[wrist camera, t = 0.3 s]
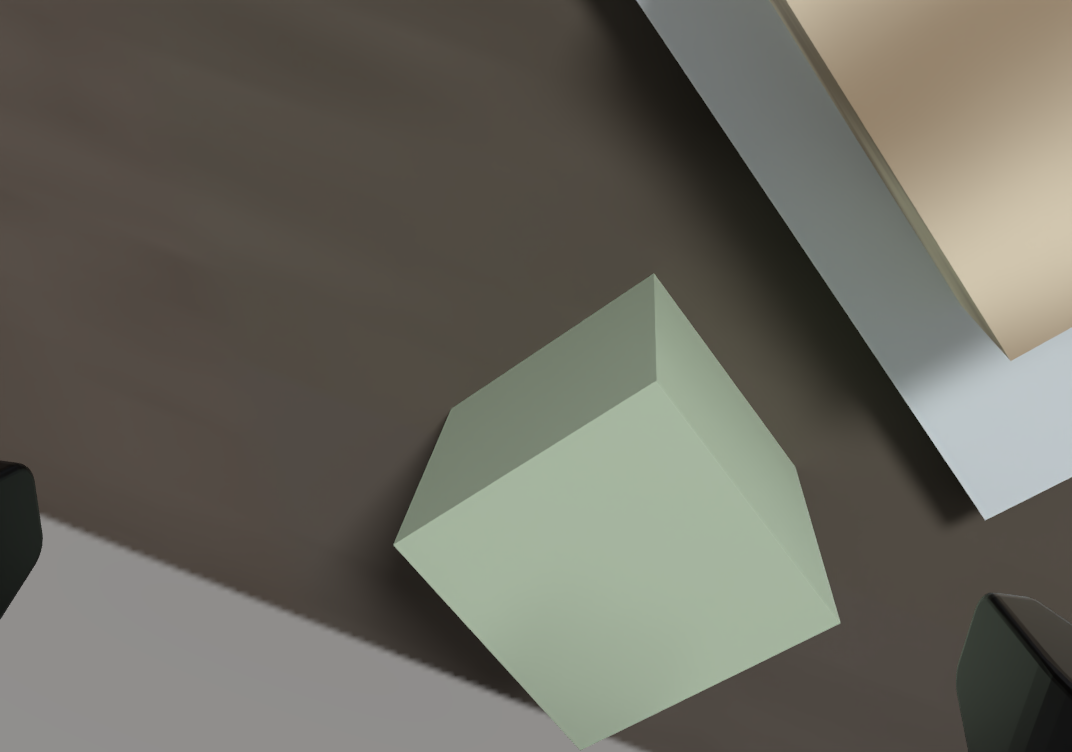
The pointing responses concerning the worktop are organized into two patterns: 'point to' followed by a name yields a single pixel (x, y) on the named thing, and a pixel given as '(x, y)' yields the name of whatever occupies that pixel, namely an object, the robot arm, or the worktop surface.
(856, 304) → the pale blue-grey board
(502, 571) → the sage cube
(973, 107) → the birch plinth
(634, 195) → the worktop surface
